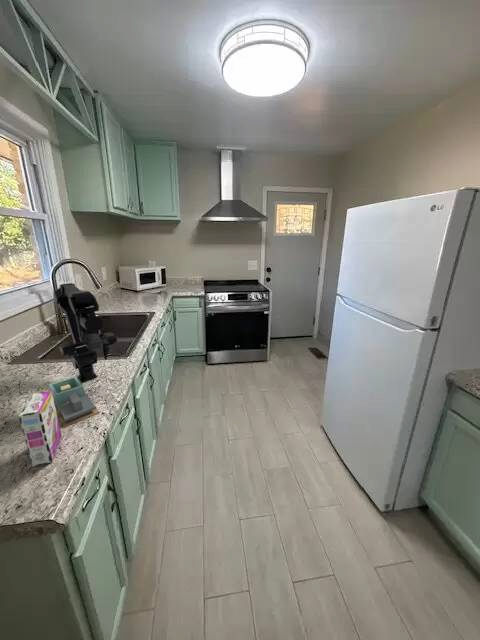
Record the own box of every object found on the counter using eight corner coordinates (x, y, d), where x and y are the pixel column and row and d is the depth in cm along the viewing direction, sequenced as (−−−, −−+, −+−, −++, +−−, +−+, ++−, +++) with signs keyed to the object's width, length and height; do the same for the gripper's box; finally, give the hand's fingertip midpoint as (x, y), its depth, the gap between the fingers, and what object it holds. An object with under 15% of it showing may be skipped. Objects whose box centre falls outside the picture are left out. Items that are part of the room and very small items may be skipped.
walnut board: (55, 411, 95) (55, 410, 95) (89, 398, 103) (89, 397, 102) (63, 427, 87) (63, 426, 87) (99, 412, 94) (99, 411, 94)
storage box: (52, 397, 103) (49, 384, 102) (78, 388, 109) (75, 376, 108) (58, 408, 97) (54, 395, 95) (85, 398, 103) (83, 385, 101)
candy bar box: (53, 462, 74) (40, 412, 69) (32, 467, 72) (16, 416, 67) (63, 435, 84) (52, 389, 79) (44, 439, 82) (32, 393, 77)
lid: (58, 410, 95) (55, 396, 93) (87, 399, 101) (84, 386, 100) (65, 424, 88) (62, 410, 86) (96, 411, 94) (93, 398, 93)
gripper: (62, 337, 88) (71, 379, 93) (120, 324, 101) (125, 362, 105) (55, 329, 96) (63, 368, 100) (109, 318, 108) (114, 353, 113)
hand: (93, 363), depth 105 cm, fingers open, 9 cm apart
